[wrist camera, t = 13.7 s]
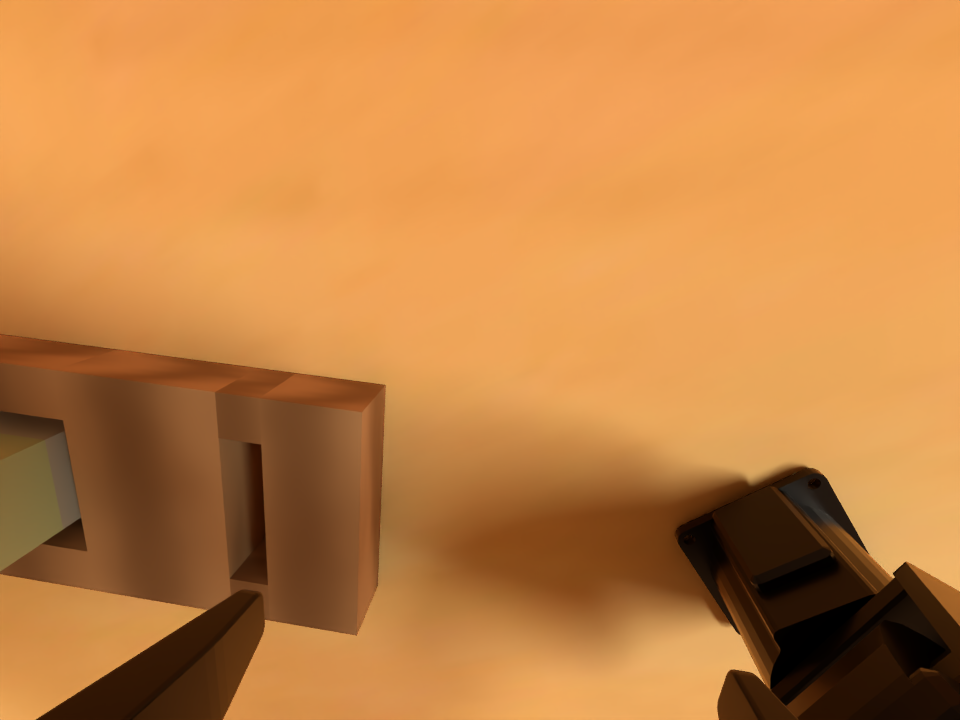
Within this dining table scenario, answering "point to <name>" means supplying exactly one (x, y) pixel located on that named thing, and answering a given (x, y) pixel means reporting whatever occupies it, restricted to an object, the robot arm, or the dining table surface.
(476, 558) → the dining table surface
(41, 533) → the square bit
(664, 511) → the dining table surface
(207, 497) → the socket board
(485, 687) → the dining table surface
